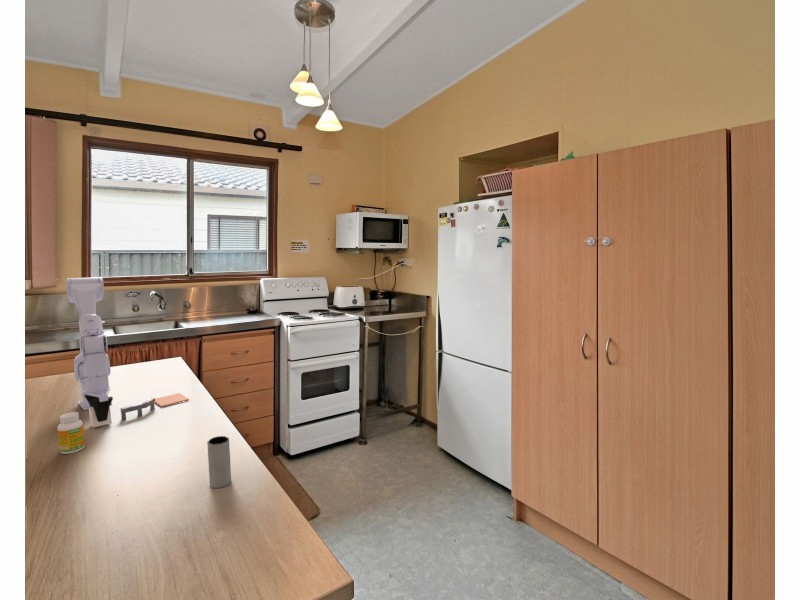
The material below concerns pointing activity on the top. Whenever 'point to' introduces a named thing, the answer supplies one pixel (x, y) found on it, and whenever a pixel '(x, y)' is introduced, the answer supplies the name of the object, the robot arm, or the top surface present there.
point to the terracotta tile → (170, 399)
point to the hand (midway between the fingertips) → (100, 418)
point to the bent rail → (137, 408)
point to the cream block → (94, 420)
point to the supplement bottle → (70, 433)
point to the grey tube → (219, 461)
